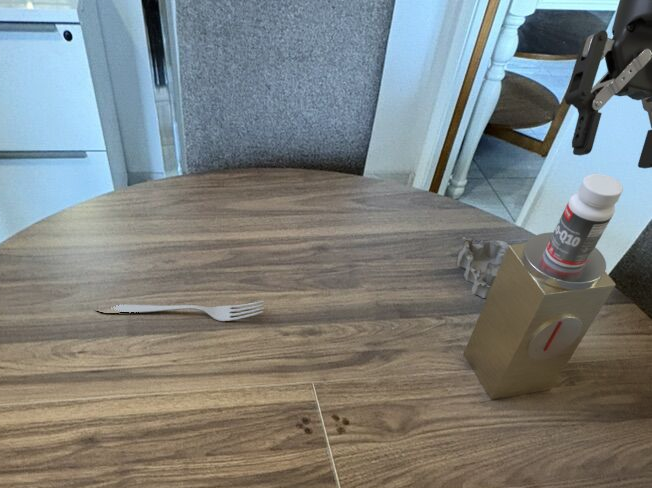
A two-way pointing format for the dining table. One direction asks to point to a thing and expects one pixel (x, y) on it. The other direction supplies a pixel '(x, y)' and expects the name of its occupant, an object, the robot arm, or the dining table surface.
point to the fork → (216, 312)
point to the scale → (534, 318)
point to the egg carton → (481, 263)
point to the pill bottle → (584, 221)
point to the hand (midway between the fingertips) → (614, 161)
